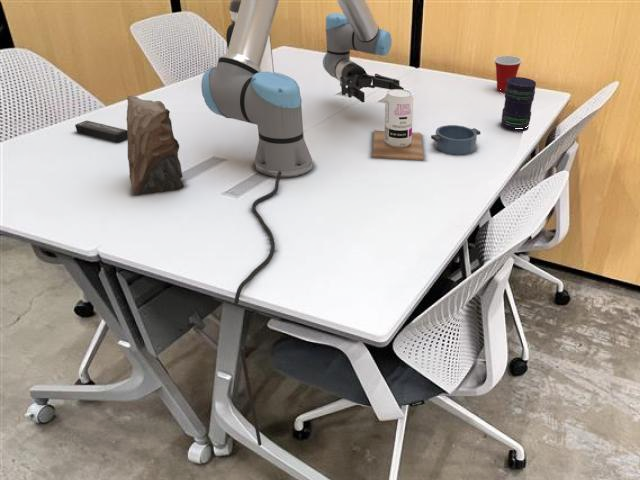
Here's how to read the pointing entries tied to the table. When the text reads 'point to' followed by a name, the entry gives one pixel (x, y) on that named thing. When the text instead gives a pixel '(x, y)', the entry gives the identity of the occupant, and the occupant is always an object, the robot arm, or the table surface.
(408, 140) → the supplement can
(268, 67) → the coffee press
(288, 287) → the table surface
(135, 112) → the brown rock
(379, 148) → the wooden board
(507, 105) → the storage jar
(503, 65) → the plastic cup
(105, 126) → the multiport hub
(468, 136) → the pot
